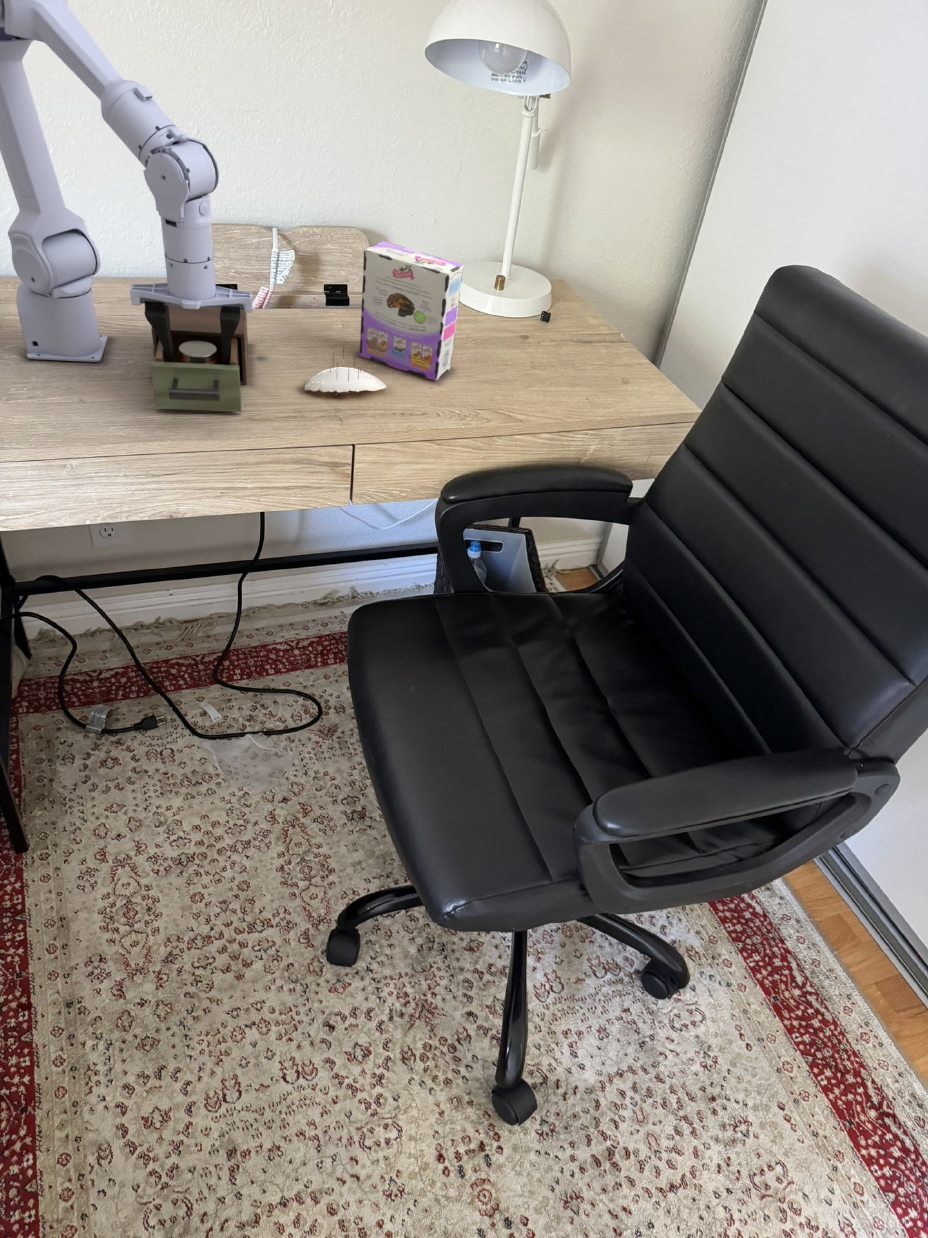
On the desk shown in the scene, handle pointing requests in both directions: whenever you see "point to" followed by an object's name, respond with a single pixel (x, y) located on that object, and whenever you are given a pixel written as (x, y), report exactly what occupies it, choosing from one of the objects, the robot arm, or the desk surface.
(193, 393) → the drawer
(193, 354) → the can
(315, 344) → the desk surface
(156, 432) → the desk surface
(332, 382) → the pincushion
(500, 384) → the desk surface
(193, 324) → the cabinet
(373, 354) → the candy box
